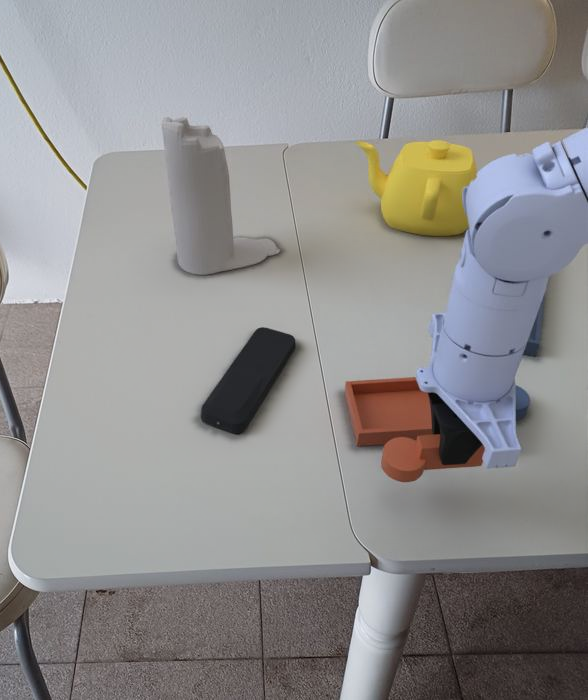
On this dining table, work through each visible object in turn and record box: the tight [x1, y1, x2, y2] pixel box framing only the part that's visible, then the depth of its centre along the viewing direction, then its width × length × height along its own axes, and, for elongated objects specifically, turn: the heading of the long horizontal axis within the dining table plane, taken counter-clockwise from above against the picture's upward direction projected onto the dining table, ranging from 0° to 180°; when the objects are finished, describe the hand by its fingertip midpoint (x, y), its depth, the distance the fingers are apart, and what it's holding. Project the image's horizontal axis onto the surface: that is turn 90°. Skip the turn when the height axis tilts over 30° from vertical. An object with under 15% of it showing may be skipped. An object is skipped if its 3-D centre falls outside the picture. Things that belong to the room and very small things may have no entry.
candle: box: [161, 116, 281, 276], centre depth 81 cm, size 7×14×20 cm, turn 106°
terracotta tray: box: [344, 376, 432, 447], centre depth 65 cm, size 11×7×2 cm, turn 93°
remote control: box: [200, 326, 297, 434], centre depth 69 cm, size 5×2×15 cm
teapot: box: [355, 139, 478, 237], centre depth 88 cm, size 22×16×11 cm
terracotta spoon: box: [380, 434, 485, 483], centre depth 54 cm, size 8×4×3 cm, turn 93°
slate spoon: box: [515, 384, 531, 420], centre depth 63 cm, size 8×4×3 cm, turn 148°
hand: (449, 451), depth 54 cm, fingers closed on terracotta spoon
